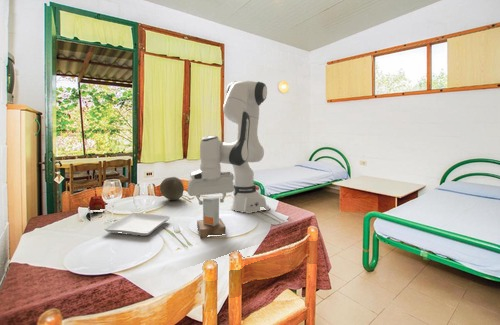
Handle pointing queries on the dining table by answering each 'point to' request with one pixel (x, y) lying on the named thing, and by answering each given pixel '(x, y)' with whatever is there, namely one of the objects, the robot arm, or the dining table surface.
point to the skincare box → (211, 211)
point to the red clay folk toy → (96, 202)
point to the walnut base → (210, 229)
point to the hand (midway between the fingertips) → (211, 203)
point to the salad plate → (137, 224)
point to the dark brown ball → (172, 188)
